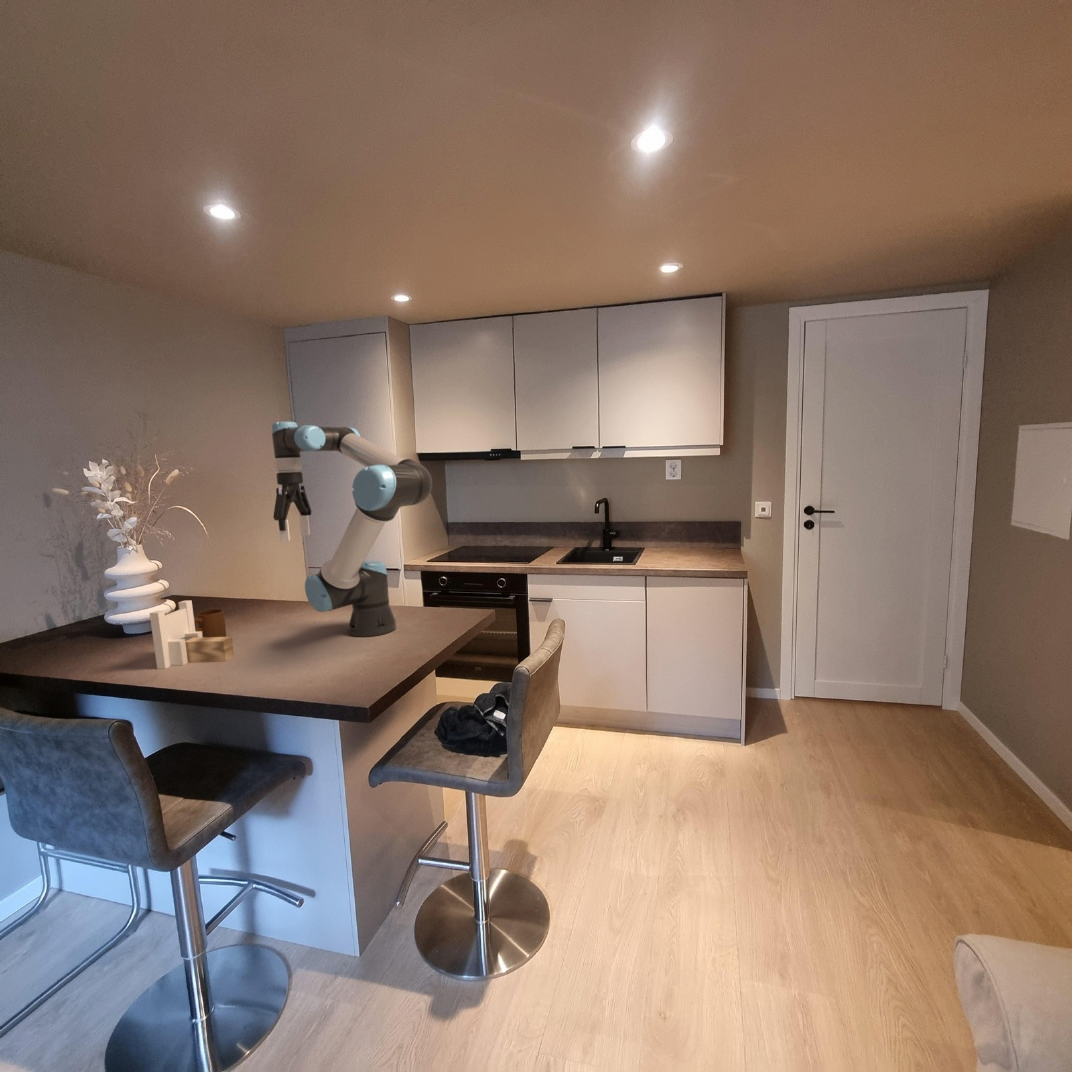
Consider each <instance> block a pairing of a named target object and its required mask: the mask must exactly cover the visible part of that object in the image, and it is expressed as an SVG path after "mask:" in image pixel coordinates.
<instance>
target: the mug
mask: <svg viewBox="0 0 1072 1072" xmlns="http://www.w3.org/2000/svg"><path fill="white" fill-rule="evenodd" d="M195 623H196V624H197V627H195V631H202V636H203V637H227V630H226V629H227V628H226V620H225V614H224V610H223V609H219V608H218V609H208V610H203V611H200V612H197V614H196V617H194V624H195Z"/></svg>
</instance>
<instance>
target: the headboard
mask: <svg viewBox="0 0 1072 1072" xmlns="http://www.w3.org/2000/svg"><path fill="white" fill-rule="evenodd" d="M193 608H194V607H193V602H192V600H188V599H187V600H182V601H180V602H179V601H178V610H175V611H173V612H169V613H166V614H165V610H154V611H151V612H149V618H150V624H151V625H150V626H151V633H152V641H153V646H154V647H153V648H154V654H155V656H154V657H155V662H156V669H158V670H160V669H161V670H163V669H168V668H169V667H171V666H172V667H173V666H176V667H177V666H185V665H186V664H188V663H189V662H188V659H187V652H186V644H185V639H182V638H184V637H188V636H192V638H202V637H203V636H202V631H195V628H196V627H195V623H194V618H195V616H194V609H193Z"/></svg>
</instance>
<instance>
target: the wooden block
mask: <svg viewBox="0 0 1072 1072" xmlns="http://www.w3.org/2000/svg"><path fill="white" fill-rule="evenodd" d="M182 639H185V644H186V652H187V659H188V663H211V662H212V663H214V662H216V663H218V662H227V661H229V660H230V659H232V658H234V657H235V653H234V645H233V637H232V636H226V637H202V638H192V636H188V637H184V638H182Z"/></svg>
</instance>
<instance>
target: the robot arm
mask: <svg viewBox="0 0 1072 1072" xmlns="http://www.w3.org/2000/svg"><path fill="white" fill-rule="evenodd" d="M271 433H272V434H271V437H272V438H271V439H272V445H273V447H272V448H273V454H274V455H273V456H274V465H275V470H276V472H277V473H276V483H277V485H281V487H276V489H275V491H276V493H275V494H276V497H275V504H274V508H273V510H274V511H273V516H272V517H273V521H278V522H277V523H278V531H279V539H280V540H279V541H280V542H290V541H291V535H290V529H289V528H290V527H289V519H287V518H288V515H289V511H290V509H291V504H292V503H294V505H295V507H296V509H297V510H298V511H297V512H298V513H299V514H300V515H299V517H298V518H299V526H300V535H301V536H311V531H310V530H311V528H310V523H309V521H310V519H309V516H311V515H312V509H311V506H310V502H309V500H308V497H307V494H306V490H305V485H300V484H303V482H304V478H303V473H302V469H303V468H302V467H303V465H302V459H301V458H302V457H301V452H338V453H340V454H342V455H344V456H346V457H347V458H349V459H351V460H353V461H355V462H357V463H358V464H360V465H362V466H364V467H363V468H361V469H360V470H359V471H358V472H356V473H357V474H356V475H355V477H354V479H353V482H352V486H351V487H352V488H353V490H352V497H353V501H354V506H356V509H355V511H354V513H353V515H352V516H351V518H350V519H351V520H350V521H349V523H348V525H347V527H346V529H345V531H344V533H343V536H341V539H340V541H339V544H338V545H337V547H336V550H335V551H334V553H333V555H332V557H331V559H329V560H326V561H325V562H324V563H323V564H322V565H321V567H320V569H319V571H318V572H317V573H316V574H315V573H313V574H311V575H309V576H307V577H306V579H305V580H304V581H305V582H304V590H305V595H306V599H307V600H308V601H307V602H308V603H309V604H310V606H311V607H312V609H314V610H315V611H317V612H320V613H324V612H331V611H334V610H338V609H340V608H345V607H347V606H351V605H352V610H351V614H350V618H349V619H350V620H349V623H348V634H349V635H350V636H353V637H363V638H365V637H376V636H381V635H385V634H388V633H391V632H394V631H395V630H396V629H397V620H396V617H395V615H394V613H393V611H392V608H391V605H390V598H389V585H388V583H389V582H388V572H387V566H386V563H384V562H383V561H378V560H366V559H367V557H368V555H369V553H370V552H371V550H372V548H373V546H374V544H375V543H376V540H377V539H378V536H379V535H380V533H381V531H382V530H383V527H384V526H385V524H386V522H387V523H388V522H390V521H392V520H393V519H394V518H395V517H396V515H397V513H398V511H399V510H400V508H402V507H408V506H415V505H419V504H421V503H422V502H423V501H425V500H426V499H427V498H428V497H429V496H430V494H431V492H432V488H433V477H432V475H431V473H430V472H429V470H428V469H427V468H426V466H424V465H422V464H421V463H419V462H418V461H415V460H414V459H412V458H402V457H401V456H398V455H396V454H395V453H393V452H390V451H389V450H386V449H385V448H382V447H381V446H379V445H377V444H375V443H373V442H371V441H369V440H367V439H365V438H364V437H361V434H360V433H359V431H358V430H357V429H356V428H354V427H347V426H342V427H341V426H317V425H309V424H308V425H302V426H298V423H296V421H276V422H273V423H272V424H271Z"/></svg>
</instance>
